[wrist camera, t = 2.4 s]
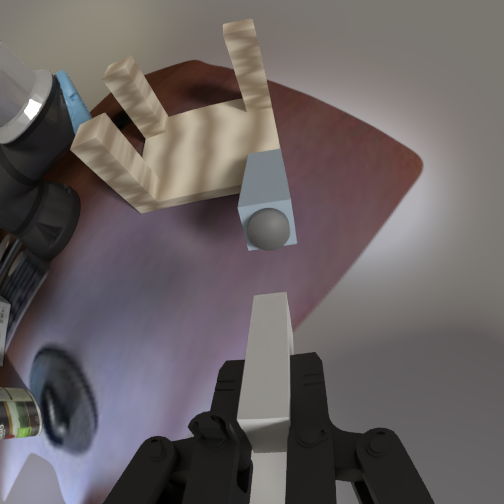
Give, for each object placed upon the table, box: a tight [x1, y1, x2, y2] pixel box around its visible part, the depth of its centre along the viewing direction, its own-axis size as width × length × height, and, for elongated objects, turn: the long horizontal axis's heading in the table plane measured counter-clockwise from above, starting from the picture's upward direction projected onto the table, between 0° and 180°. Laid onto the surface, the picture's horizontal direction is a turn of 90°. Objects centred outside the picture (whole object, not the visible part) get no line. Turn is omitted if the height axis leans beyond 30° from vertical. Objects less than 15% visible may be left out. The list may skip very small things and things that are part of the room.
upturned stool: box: [70, 19, 280, 214], centre depth 33 cm, size 22×18×17 cm
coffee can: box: [0, 387, 42, 439], centre depth 26 cm, size 10×10×14 cm
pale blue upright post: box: [238, 149, 297, 250], centre depth 27 cm, size 4×4×16 cm
